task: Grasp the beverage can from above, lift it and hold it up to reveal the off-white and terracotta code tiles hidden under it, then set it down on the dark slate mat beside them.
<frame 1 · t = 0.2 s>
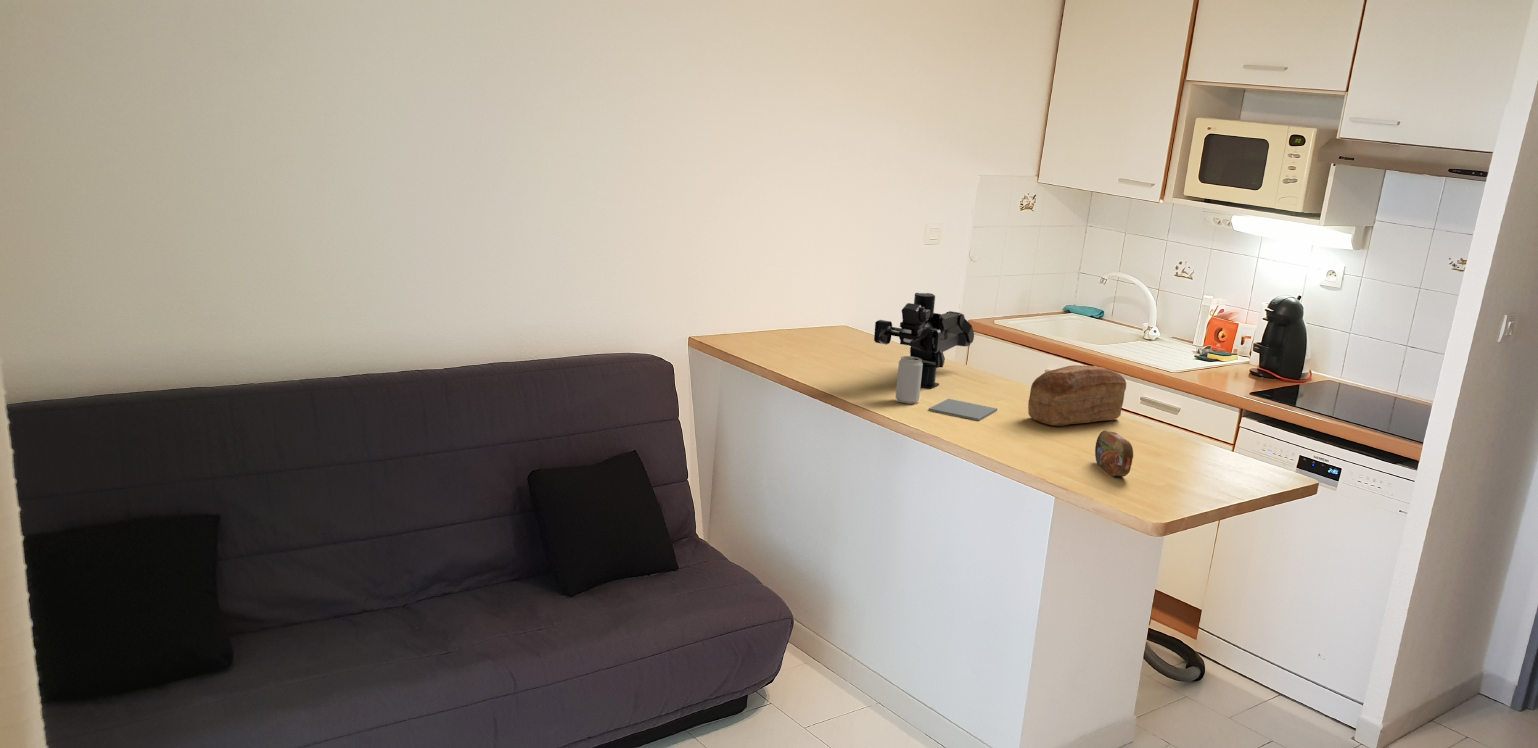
hand: (894, 341, 284), 17 cm above the worktop, tool horizontal, fingers open, 9 cm apart
slate mat: (963, 410, 284), on the worktop
tin: (1111, 471, 241), on the worktop
bread: (1074, 420, 283), on the worktop
beverage can: (906, 401, 289), on the worktop, touching code tiles
code tiles: (906, 401, 289), on the worktop
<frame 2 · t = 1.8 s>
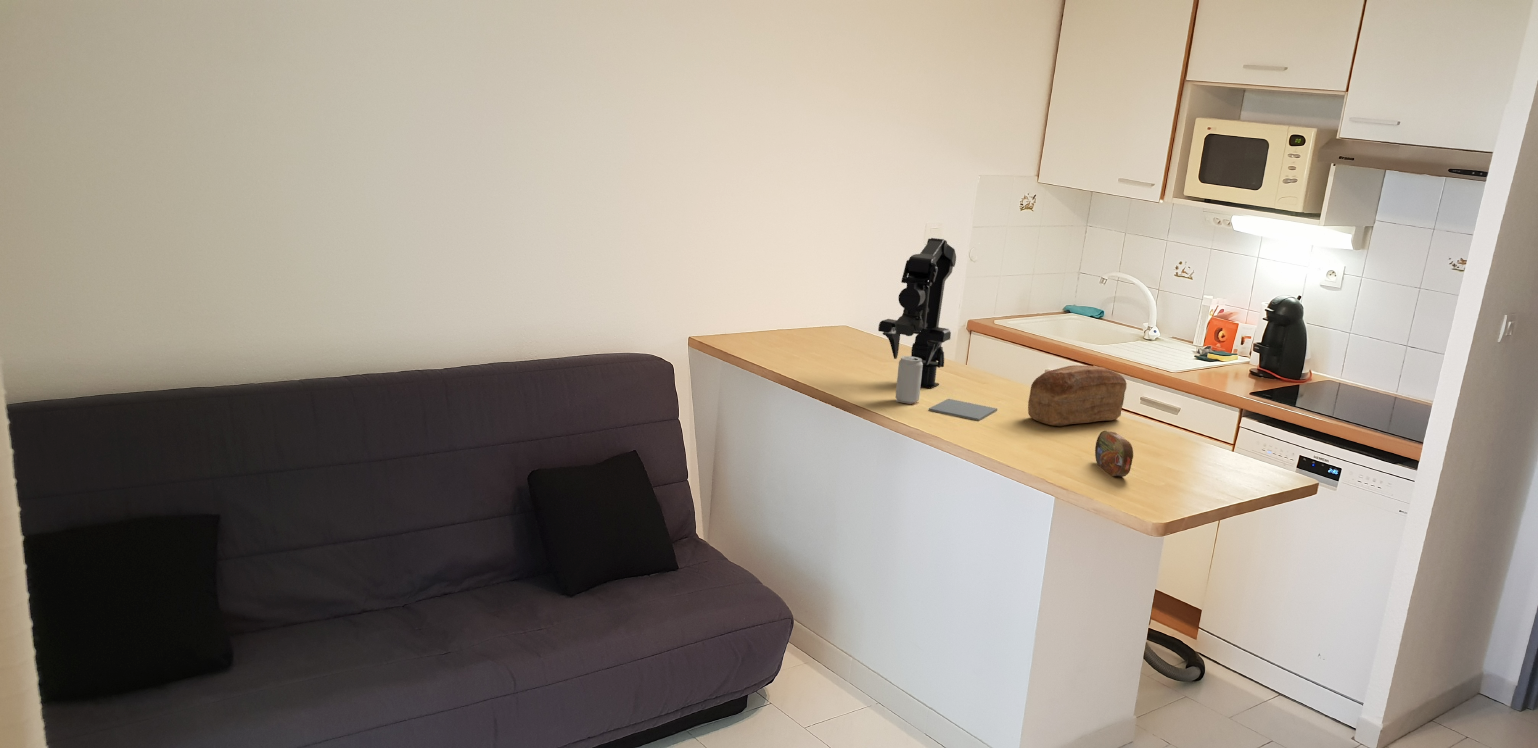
hand: (911, 361, 286), 11 cm above the worktop, tool pointing down, fingers open, 9 cm apart
nothing on the worktop moved.
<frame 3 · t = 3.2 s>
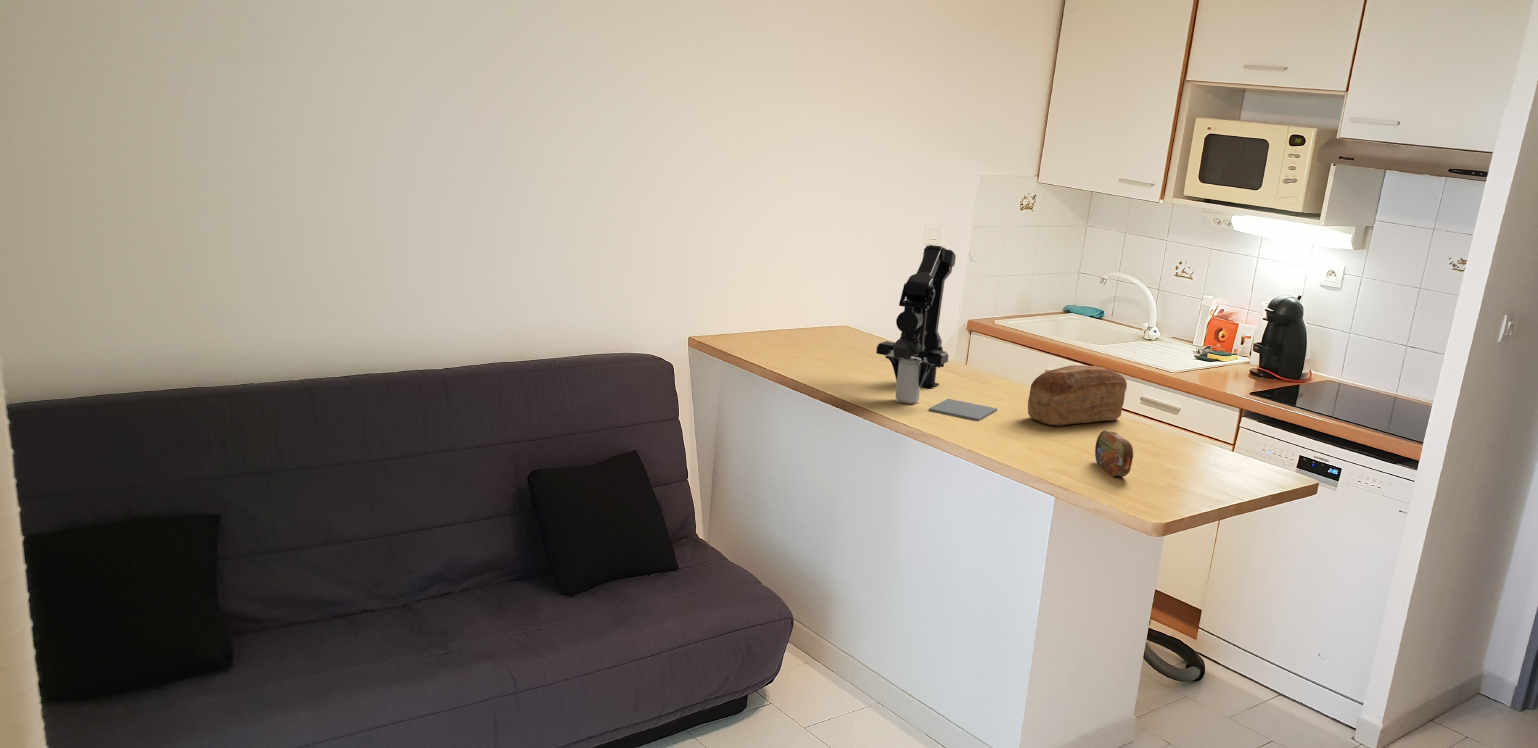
hand: (909, 384, 288), 5 cm above the worktop, tool pointing down, fingers closed on beverage can, 6 cm apart
beverage can: (906, 401, 289), on the worktop, touching code tiles, gripper
everything else where it was.
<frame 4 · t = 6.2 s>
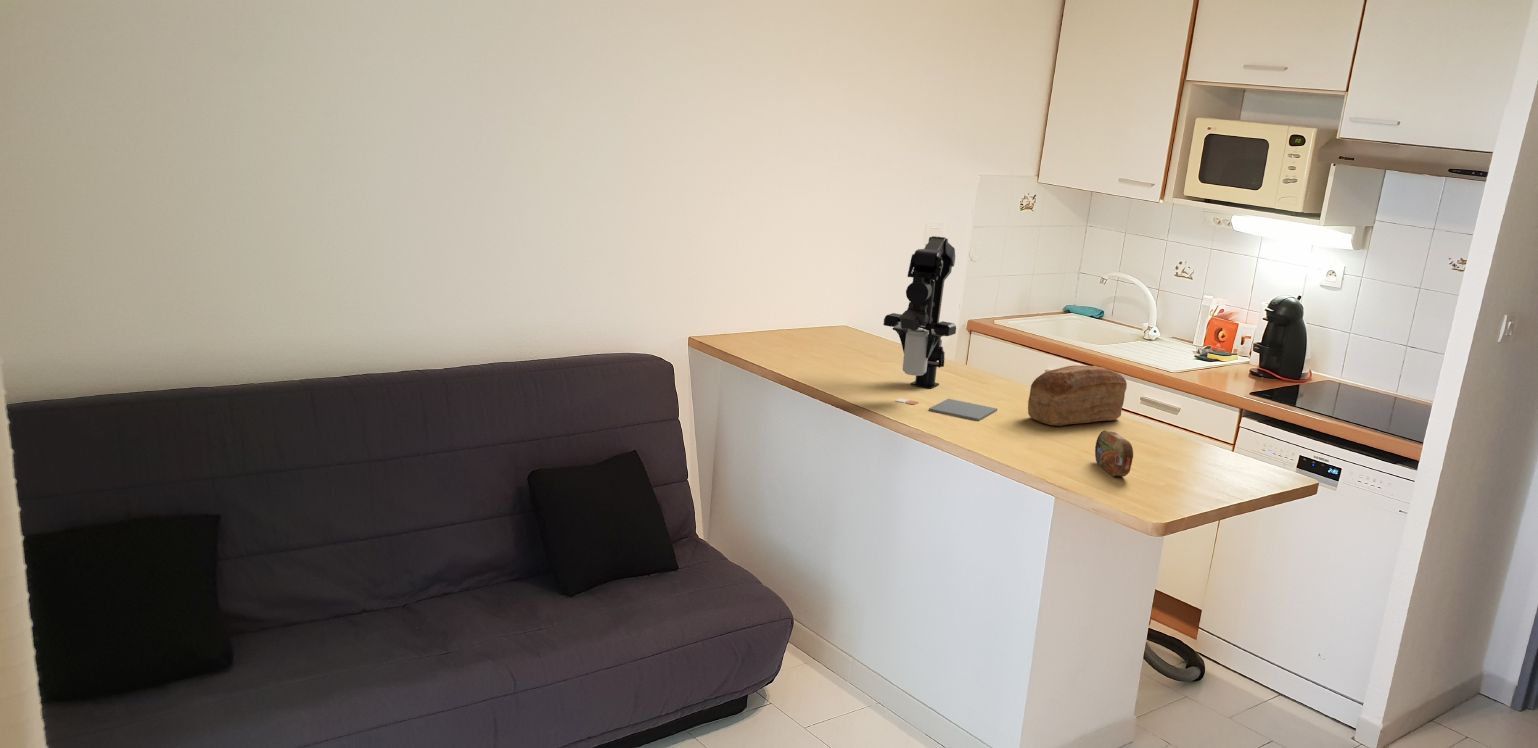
hand: (916, 356, 285), 13 cm above the worktop, tool pointing down, fingers closed on beverage can, 6 cm apart
beverage can: (914, 374, 287), point 8 cm above the worktop, touching gripper
everything else where it was.
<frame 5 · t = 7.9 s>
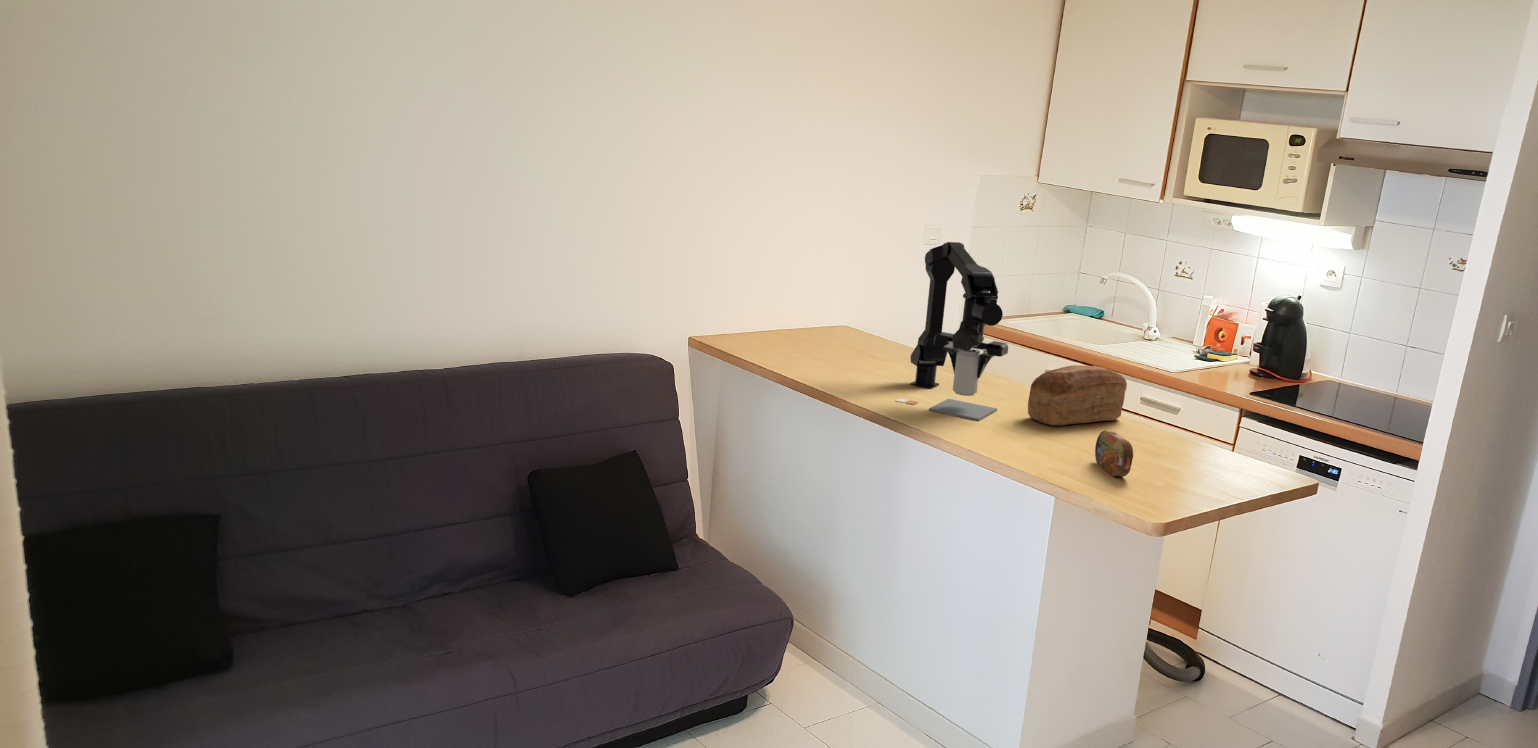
hand: (966, 375, 282), 9 cm above the worktop, tool pointing down, fingers closed on beverage can, 6 cm apart
beverage can: (964, 394, 283), point 4 cm above the worktop, touching gripper
everything else where it was.
when the fingers open (7 cm above the worktop, at t = 9.2 s): beverage can drops 1 cm, resting on slate mat.
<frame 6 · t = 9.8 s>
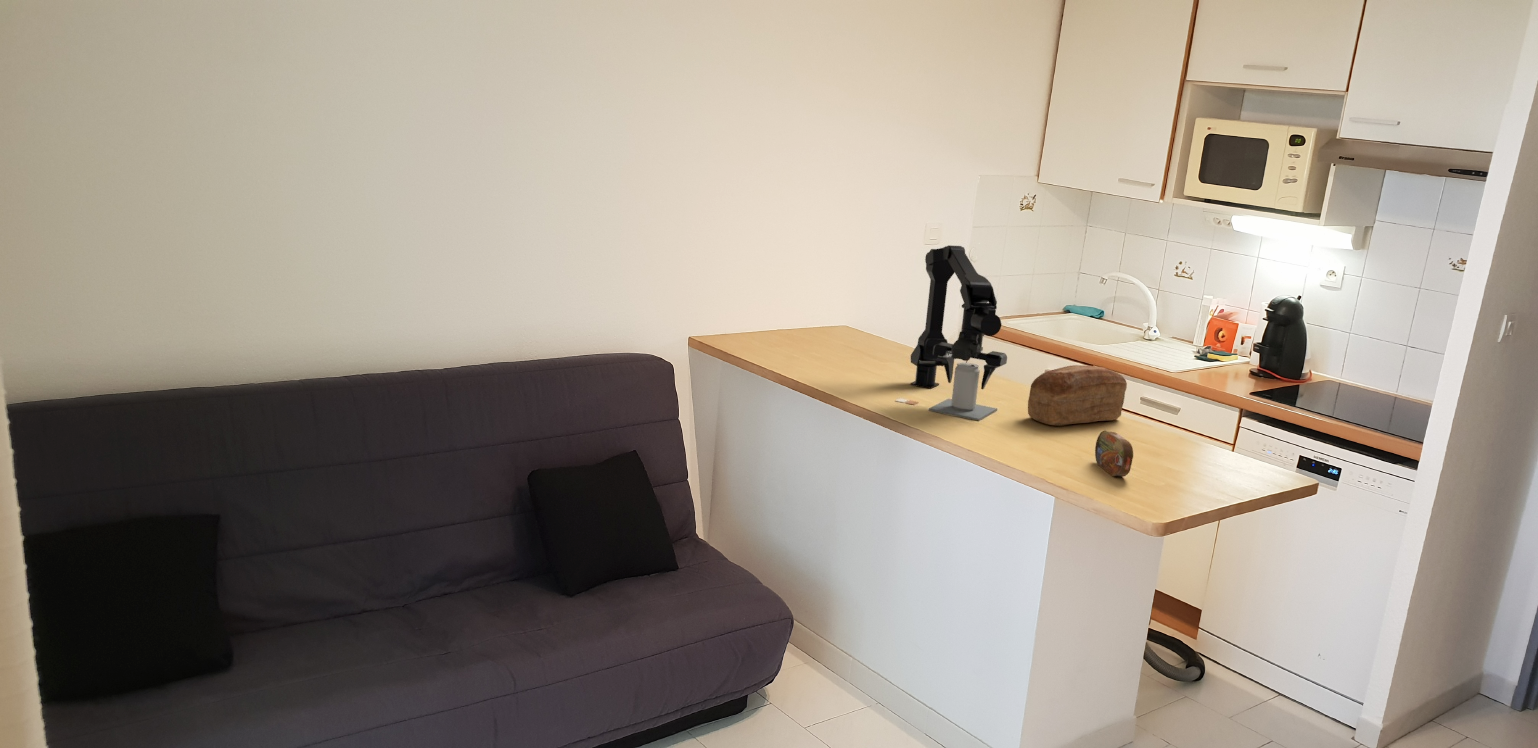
hand: (965, 385, 283), 7 cm above the worktop, tool pointing down, fingers open, 9 cm apart
beverage can: (962, 409, 284), resting on slate mat
everything else where it was.
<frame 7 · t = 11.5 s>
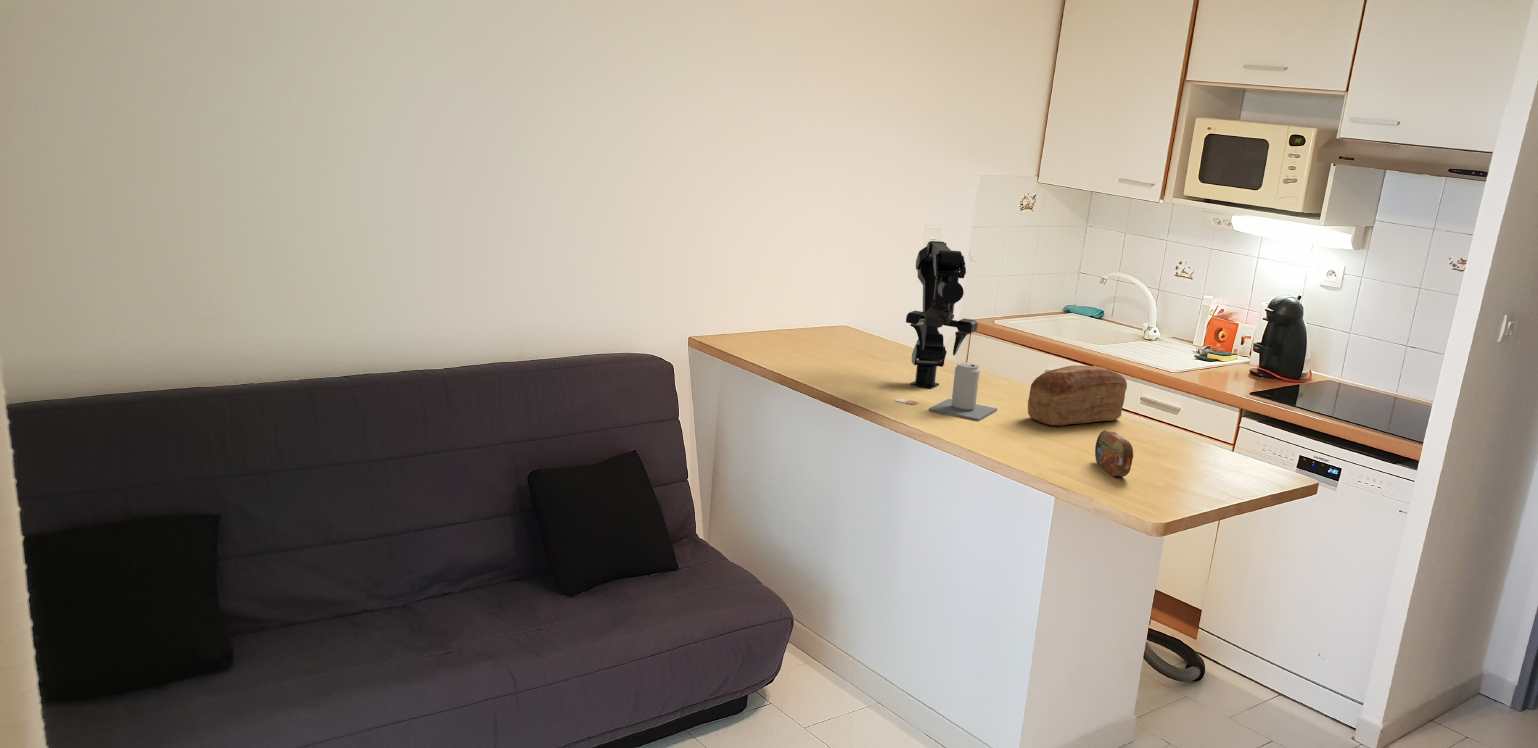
hand: (938, 352, 293), 13 cm above the worktop, tool pointing down, fingers open, 9 cm apart
nothing on the worktop moved.
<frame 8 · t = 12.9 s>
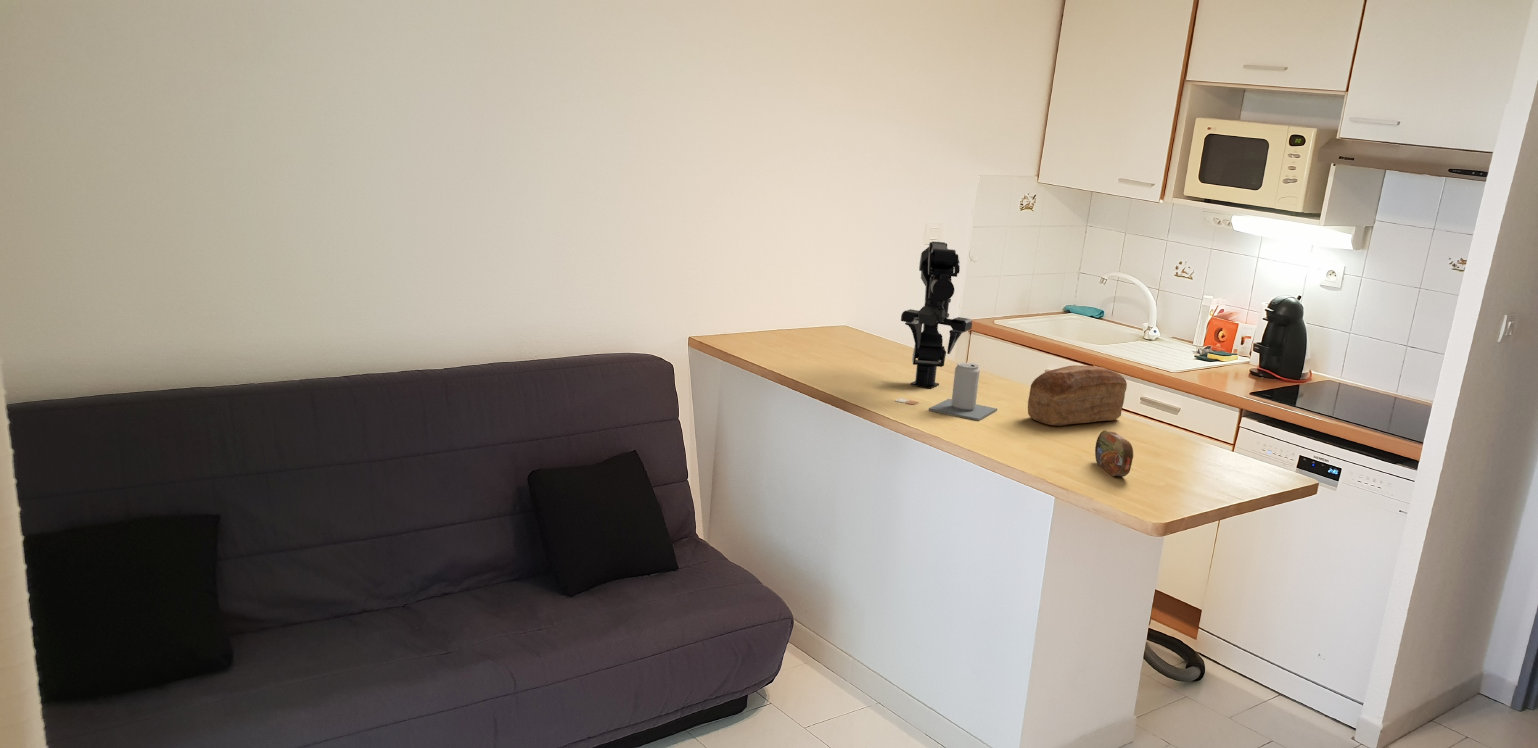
hand: (933, 351, 293), 13 cm above the worktop, tool pointing down, fingers open, 9 cm apart
nothing on the worktop moved.
at the end: beverage can inside the target area on the slate mat (0.1 cm from its centre), point 0.4 cm above the slate mat's base; beverage can tilted 0°; the gripper is holding nothing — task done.
